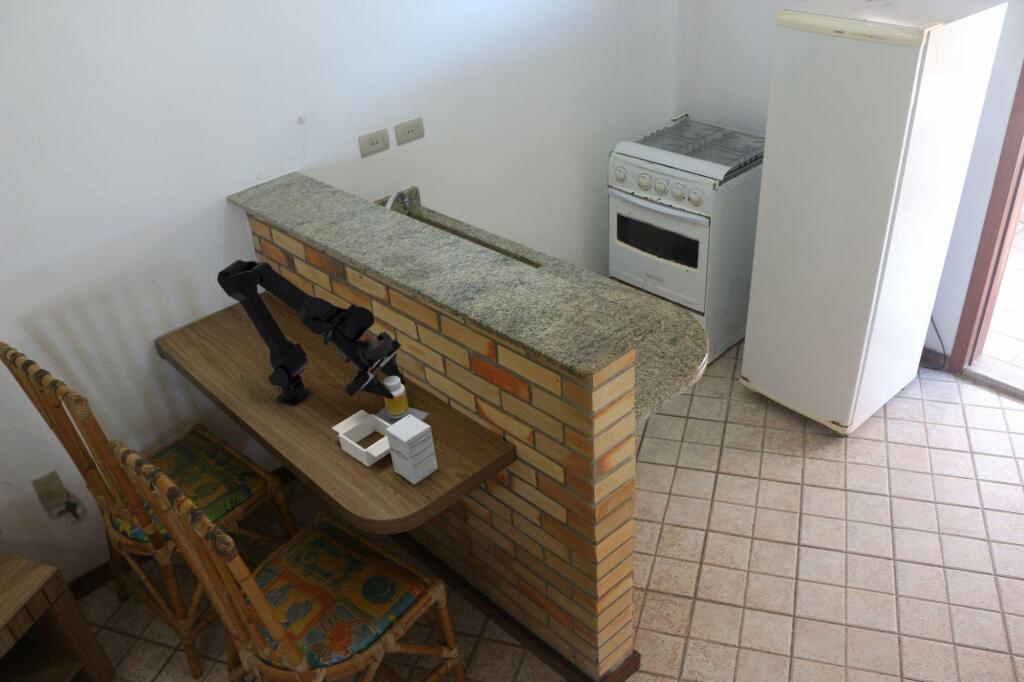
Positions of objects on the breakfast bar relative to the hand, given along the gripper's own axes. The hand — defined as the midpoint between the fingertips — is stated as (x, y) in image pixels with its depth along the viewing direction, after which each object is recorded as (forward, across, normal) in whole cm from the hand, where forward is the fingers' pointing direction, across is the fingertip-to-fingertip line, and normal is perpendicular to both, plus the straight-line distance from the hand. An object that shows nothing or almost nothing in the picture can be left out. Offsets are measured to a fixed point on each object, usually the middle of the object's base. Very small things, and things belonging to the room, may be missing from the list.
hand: (398, 391), depth 204 cm
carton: (+4, -12, +7) cm, 15 cm away
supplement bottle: (+4, 0, +6) cm, 7 cm away
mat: (+5, 0, +7) cm, 8 cm away
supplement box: (+15, -16, -3) cm, 22 cm away
